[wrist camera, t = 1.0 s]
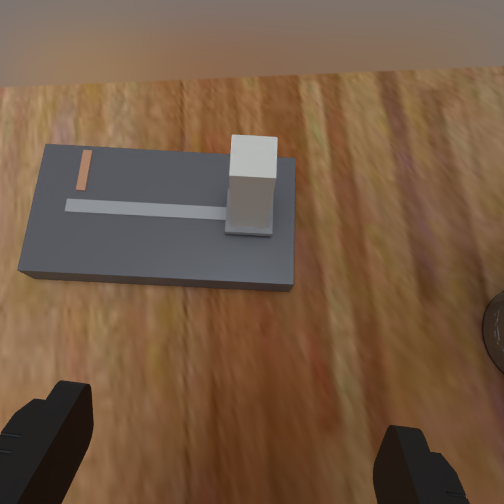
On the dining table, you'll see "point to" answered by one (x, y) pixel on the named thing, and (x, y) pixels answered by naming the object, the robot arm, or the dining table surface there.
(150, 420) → the dining table surface
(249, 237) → the console
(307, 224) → the dining table surface
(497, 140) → the dining table surface
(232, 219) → the fader tab
